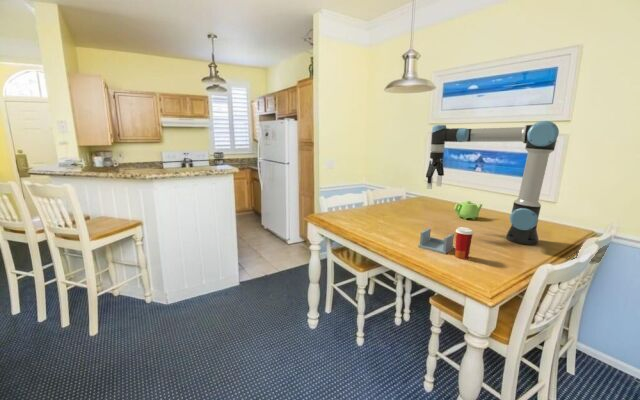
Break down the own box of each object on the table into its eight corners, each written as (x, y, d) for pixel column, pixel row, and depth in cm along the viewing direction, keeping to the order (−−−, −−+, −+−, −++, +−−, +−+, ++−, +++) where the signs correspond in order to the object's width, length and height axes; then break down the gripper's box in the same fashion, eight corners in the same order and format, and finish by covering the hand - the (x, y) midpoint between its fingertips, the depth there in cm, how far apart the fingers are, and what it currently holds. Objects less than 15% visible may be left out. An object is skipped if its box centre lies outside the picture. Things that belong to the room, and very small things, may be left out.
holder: (453, 247, 156) (455, 233, 155) (445, 254, 147) (446, 238, 146) (427, 241, 165) (428, 227, 164) (418, 247, 157) (419, 232, 155)
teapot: (475, 215, 222) (477, 199, 220) (486, 220, 209) (488, 203, 207) (449, 215, 221) (450, 199, 219) (458, 220, 208) (460, 203, 206)
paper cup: (465, 253, 148) (468, 226, 145) (473, 260, 141) (477, 231, 138) (449, 254, 148) (452, 226, 145) (457, 260, 140) (460, 231, 138)
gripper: (439, 151, 187) (436, 184, 192) (421, 152, 170) (418, 189, 174) (451, 151, 182) (448, 185, 187) (434, 152, 165) (431, 190, 169)
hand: (434, 187), depth 180 cm, fingers open, 13 cm apart
